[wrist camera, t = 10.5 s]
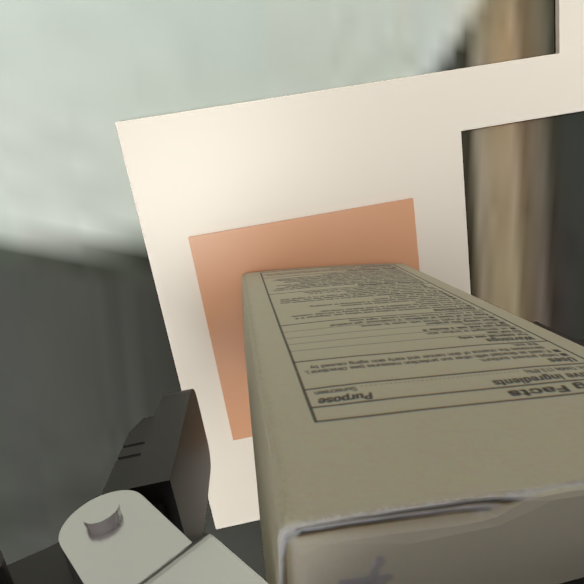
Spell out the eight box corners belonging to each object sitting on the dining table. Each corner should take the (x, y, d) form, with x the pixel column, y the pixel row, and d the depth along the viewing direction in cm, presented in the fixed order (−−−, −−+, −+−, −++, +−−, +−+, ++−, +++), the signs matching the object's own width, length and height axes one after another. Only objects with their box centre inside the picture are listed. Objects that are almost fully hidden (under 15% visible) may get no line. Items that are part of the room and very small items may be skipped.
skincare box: (246, 382, 17) (260, 856, 5) (240, 269, 16) (236, 531, 4) (412, 369, 17) (768, 764, 6) (416, 259, 16) (866, 463, 5)
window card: (736, -100, 15) (758, -112, 15) (694, 416, 20) (710, 424, 20) (85, -12, 14) (77, -22, 13) (216, 520, 19) (215, 533, 18)
